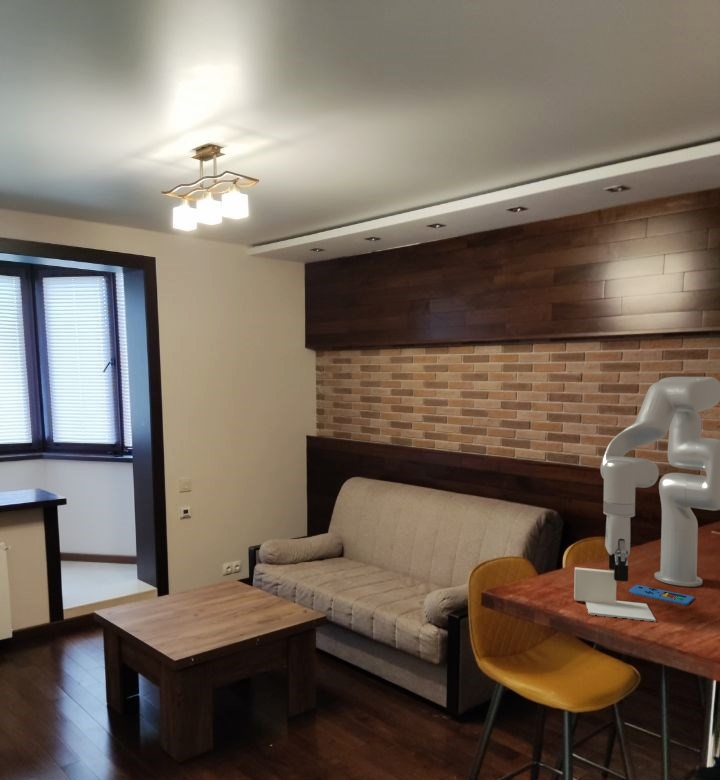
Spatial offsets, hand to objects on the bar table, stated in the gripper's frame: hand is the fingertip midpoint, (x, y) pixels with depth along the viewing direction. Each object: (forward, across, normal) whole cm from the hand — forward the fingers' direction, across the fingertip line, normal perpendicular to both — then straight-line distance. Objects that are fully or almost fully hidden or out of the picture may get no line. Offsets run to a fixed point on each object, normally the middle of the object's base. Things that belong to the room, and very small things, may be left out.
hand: (618, 574), depth 162 cm
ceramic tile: (+7, +1, -6) cm, 9 cm away
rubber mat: (+7, +5, 0) cm, 9 cm away
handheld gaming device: (+9, -12, +12) cm, 19 cm away
